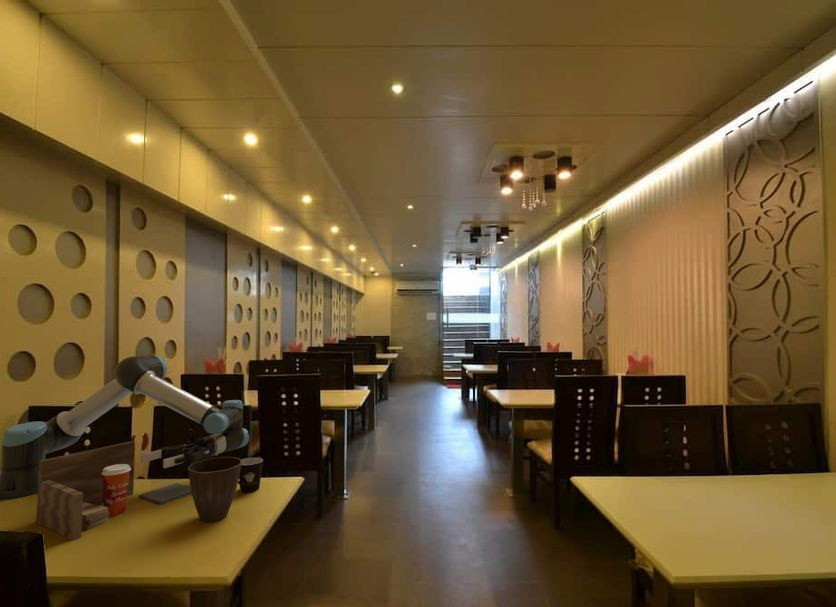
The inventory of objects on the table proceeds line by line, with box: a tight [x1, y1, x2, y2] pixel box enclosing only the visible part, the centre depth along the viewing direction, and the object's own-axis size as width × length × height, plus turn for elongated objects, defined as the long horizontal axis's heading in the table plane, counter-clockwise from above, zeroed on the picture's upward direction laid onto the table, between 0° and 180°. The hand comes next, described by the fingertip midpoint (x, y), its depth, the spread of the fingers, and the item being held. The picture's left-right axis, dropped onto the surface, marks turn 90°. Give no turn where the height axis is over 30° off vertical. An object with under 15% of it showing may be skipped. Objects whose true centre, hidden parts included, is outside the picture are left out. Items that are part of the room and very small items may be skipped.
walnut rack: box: [36, 440, 136, 541], centre depth 133 cm, size 24×26×18 cm
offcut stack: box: [81, 502, 110, 531], centre depth 126 cm, size 12×7×4 cm, turn 72°
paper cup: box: [101, 464, 131, 517], centre depth 134 cm, size 8×8×14 cm
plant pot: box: [187, 456, 242, 523], centre depth 130 cm, size 15×15×16 cm
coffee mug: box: [237, 457, 264, 493], centre depth 153 cm, size 12×9×10 cm
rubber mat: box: [138, 482, 192, 505], centre depth 148 cm, size 13×13×1 cm
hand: (152, 461), depth 143 cm, fingers open, 13 cm apart
